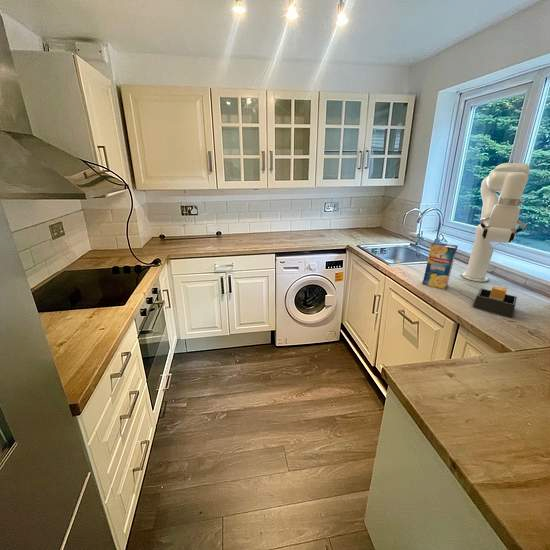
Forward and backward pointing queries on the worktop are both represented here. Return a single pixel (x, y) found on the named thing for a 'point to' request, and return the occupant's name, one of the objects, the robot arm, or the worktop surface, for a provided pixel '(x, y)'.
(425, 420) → the worktop surface
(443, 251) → the blue yellow food box
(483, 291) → the basket
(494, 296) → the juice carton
